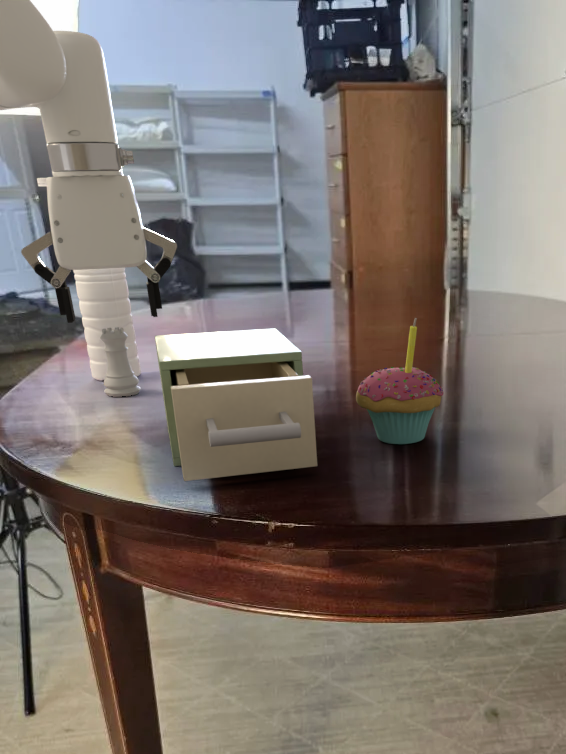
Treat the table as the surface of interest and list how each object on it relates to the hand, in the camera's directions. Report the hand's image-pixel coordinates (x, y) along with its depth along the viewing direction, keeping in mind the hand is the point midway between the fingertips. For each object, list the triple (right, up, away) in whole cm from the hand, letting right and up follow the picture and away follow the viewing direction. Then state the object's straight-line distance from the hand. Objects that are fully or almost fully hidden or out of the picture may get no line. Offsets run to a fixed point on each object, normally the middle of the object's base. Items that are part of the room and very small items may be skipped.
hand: (113, 318), depth 94 cm
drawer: (+21, -20, -25) cm, 38 cm away
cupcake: (+35, -17, -16) cm, 42 cm away
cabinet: (+18, -17, -15) cm, 29 cm away
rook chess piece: (0, -9, +4) cm, 9 cm away
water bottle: (-5, -5, +13) cm, 15 cm away
